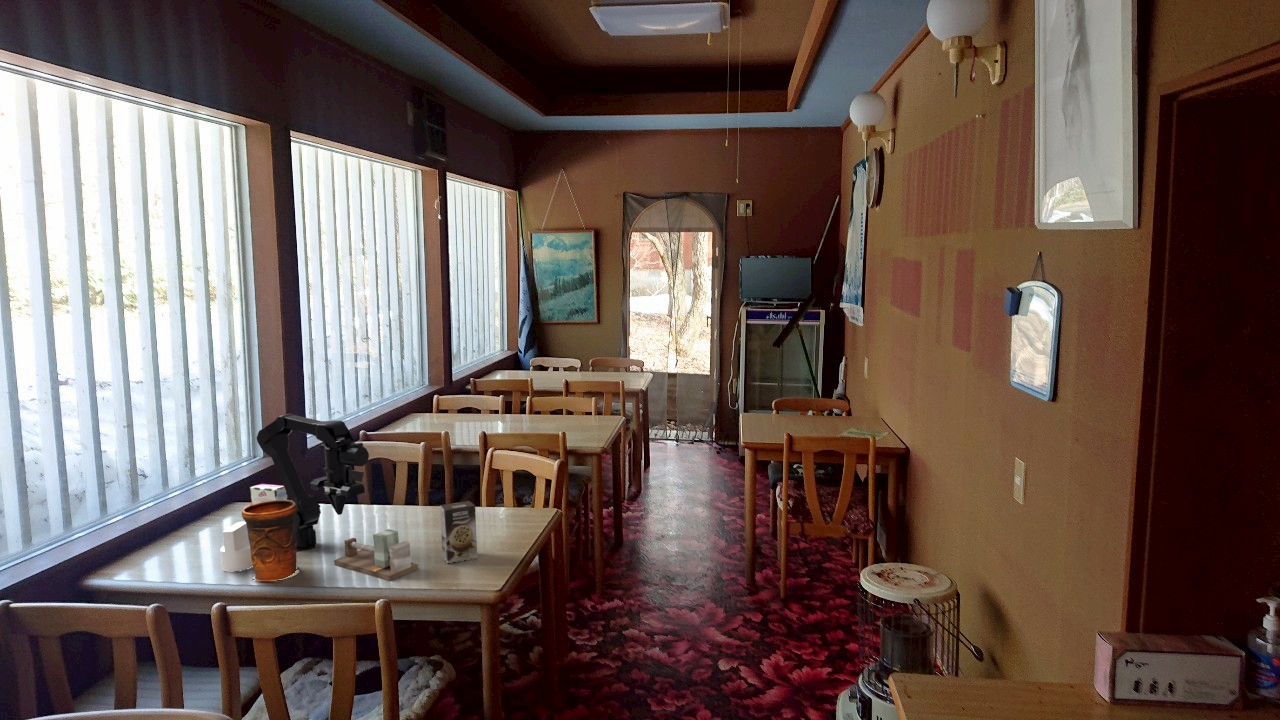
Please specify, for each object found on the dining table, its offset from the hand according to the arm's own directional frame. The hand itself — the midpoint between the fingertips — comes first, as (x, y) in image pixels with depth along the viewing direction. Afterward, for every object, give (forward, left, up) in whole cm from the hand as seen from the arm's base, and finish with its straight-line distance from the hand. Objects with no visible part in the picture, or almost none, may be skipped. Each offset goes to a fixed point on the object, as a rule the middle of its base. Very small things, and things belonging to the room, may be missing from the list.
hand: (339, 514), depth 243 cm
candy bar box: (-18, +29, -12) cm, 36 cm away
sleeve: (+10, -22, -10) cm, 26 cm away
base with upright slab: (-28, +4, -12) cm, 31 cm away
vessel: (-19, -8, -12) cm, 24 cm away
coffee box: (+30, -23, -12) cm, 40 cm away
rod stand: (+7, -17, -12) cm, 22 cm away
